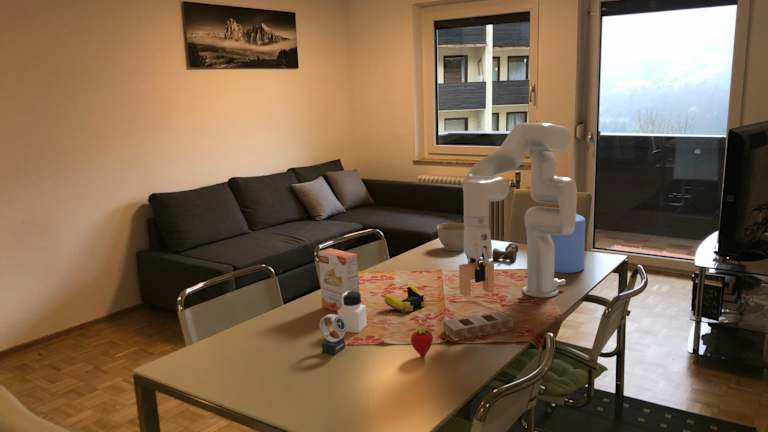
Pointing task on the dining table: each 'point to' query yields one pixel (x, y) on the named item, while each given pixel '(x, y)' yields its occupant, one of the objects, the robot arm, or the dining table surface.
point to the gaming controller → (407, 300)
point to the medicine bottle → (353, 312)
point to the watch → (333, 343)
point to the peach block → (469, 273)
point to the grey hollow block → (478, 325)
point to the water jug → (570, 249)
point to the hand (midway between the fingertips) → (476, 279)
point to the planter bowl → (451, 236)
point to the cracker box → (337, 276)
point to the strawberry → (422, 340)
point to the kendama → (506, 253)
